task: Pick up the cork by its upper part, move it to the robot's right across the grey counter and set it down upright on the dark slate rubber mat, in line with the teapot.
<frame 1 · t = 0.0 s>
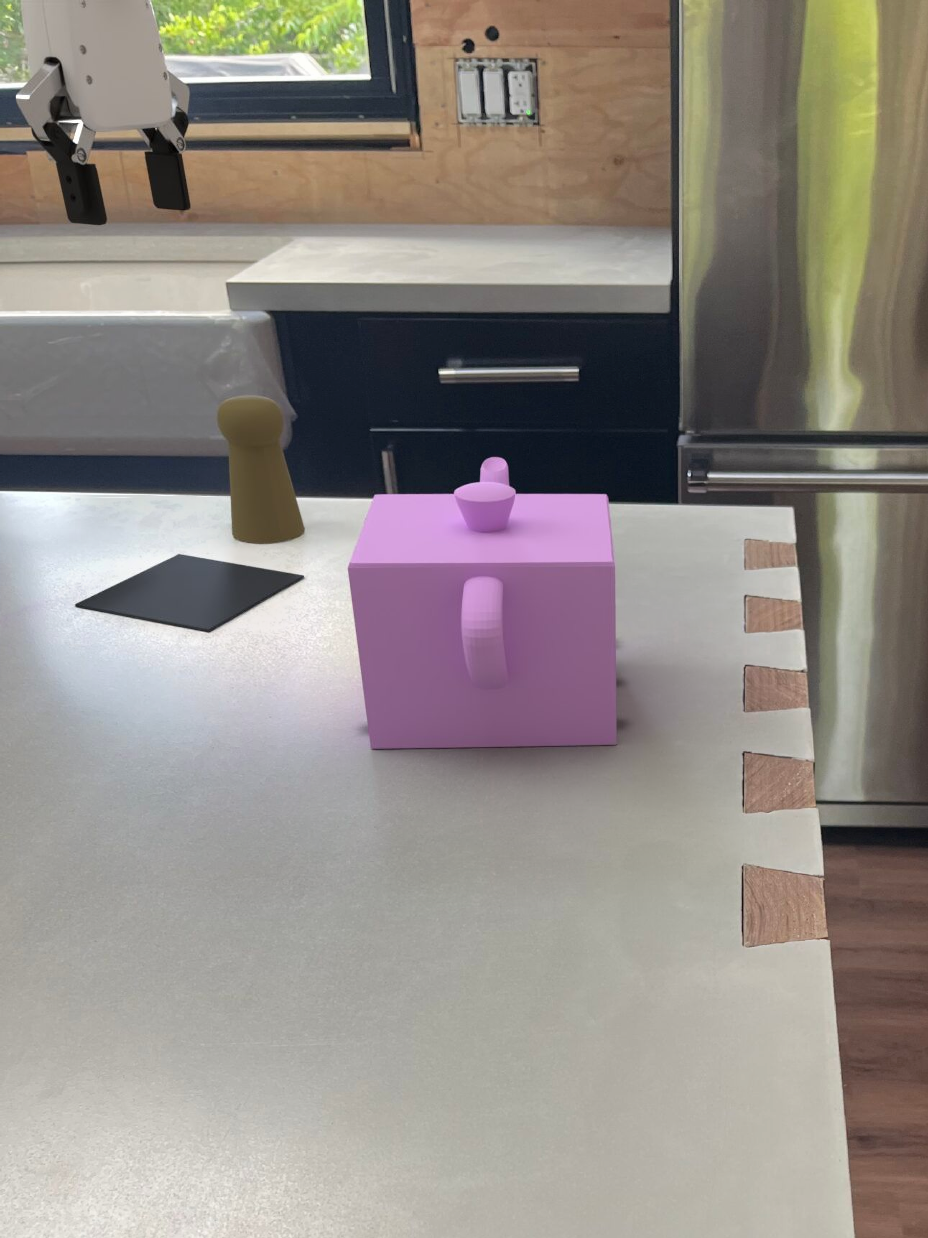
hand: (132, 216, 103), 24 cm above the kitchen island, tool pointing down, fingers open, 9 cm apart
cork: (269, 534, 113), on the kitchen island
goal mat: (193, 591, 102), on the kitchen island
teapot: (499, 697, 88), on the kitchen island
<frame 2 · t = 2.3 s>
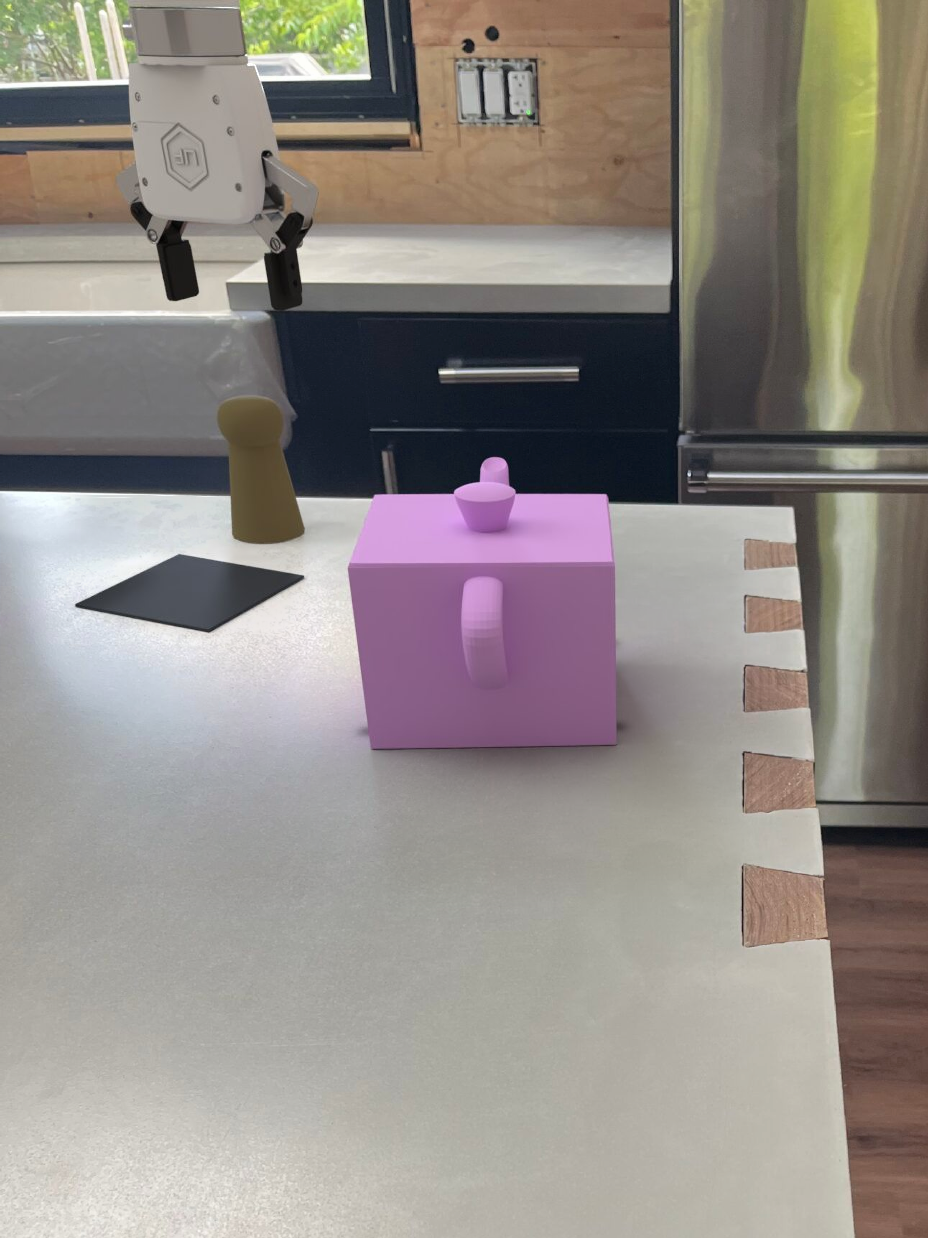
hand: (235, 303, 103), 18 cm above the kitchen island, tool pointing down, fingers open, 9 cm apart
nothing on the kitchen island moved.
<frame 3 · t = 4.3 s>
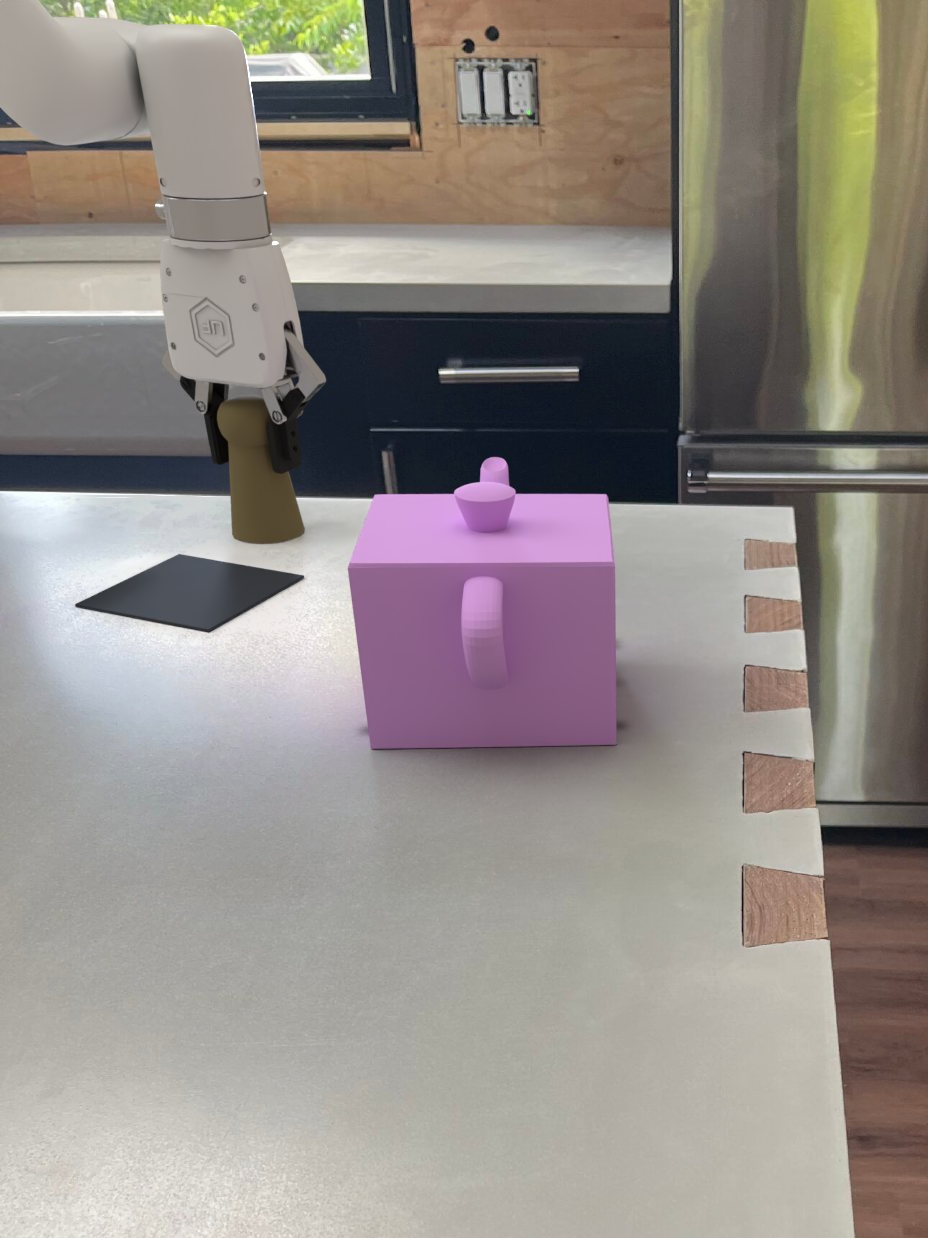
hand: (257, 462, 110), 6 cm above the kitchen island, tool pointing down, fingers closed on cork, 5 cm apart
cork: (269, 534, 113), on the kitchen island, touching gripper
everything else where it was.
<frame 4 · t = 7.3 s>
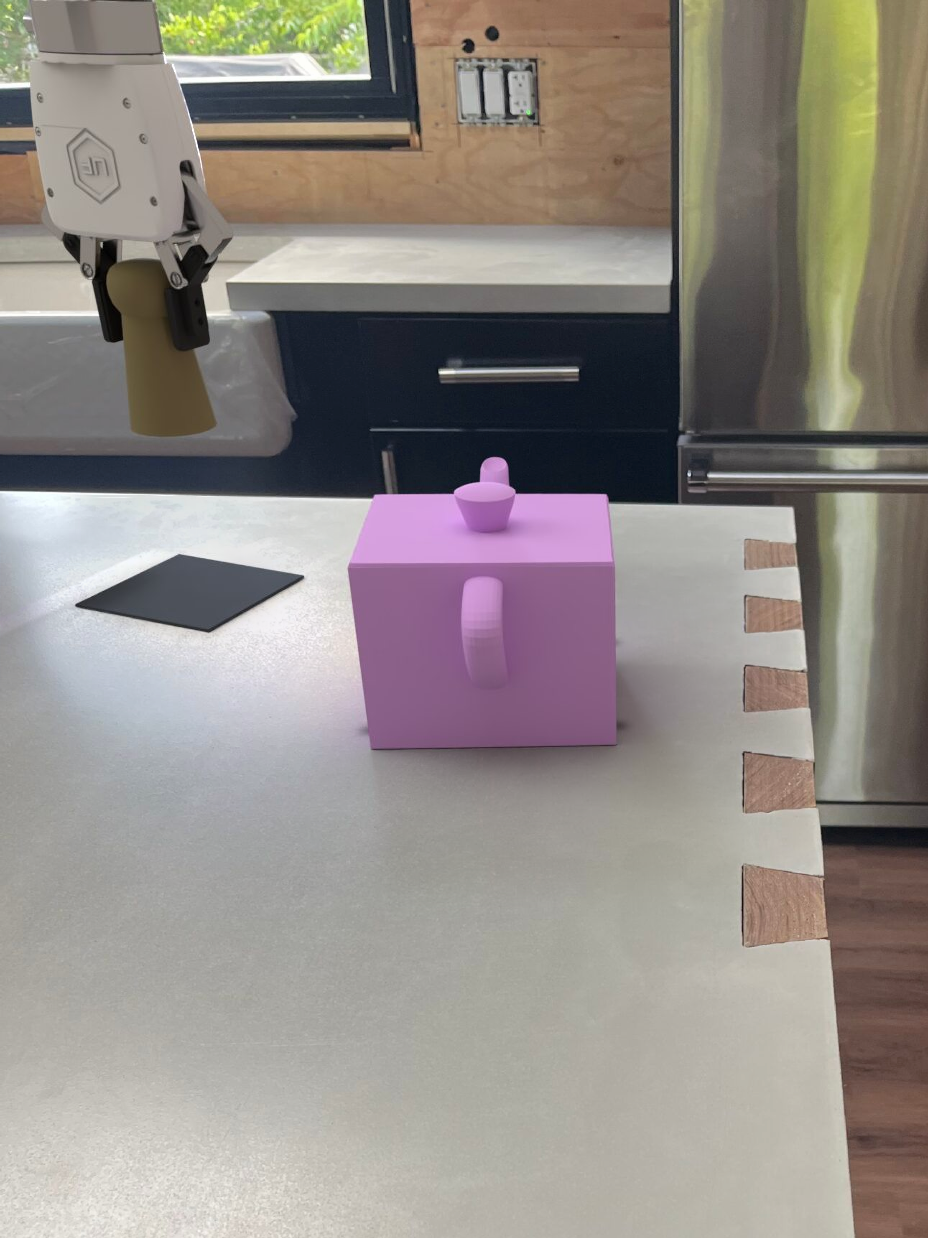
hand: (157, 340, 93), 18 cm above the kitchen island, tool pointing down, fingers closed on cork, 5 cm apart
cork: (174, 428, 97), point 12 cm above the kitchen island, touching gripper
everything else where it was.
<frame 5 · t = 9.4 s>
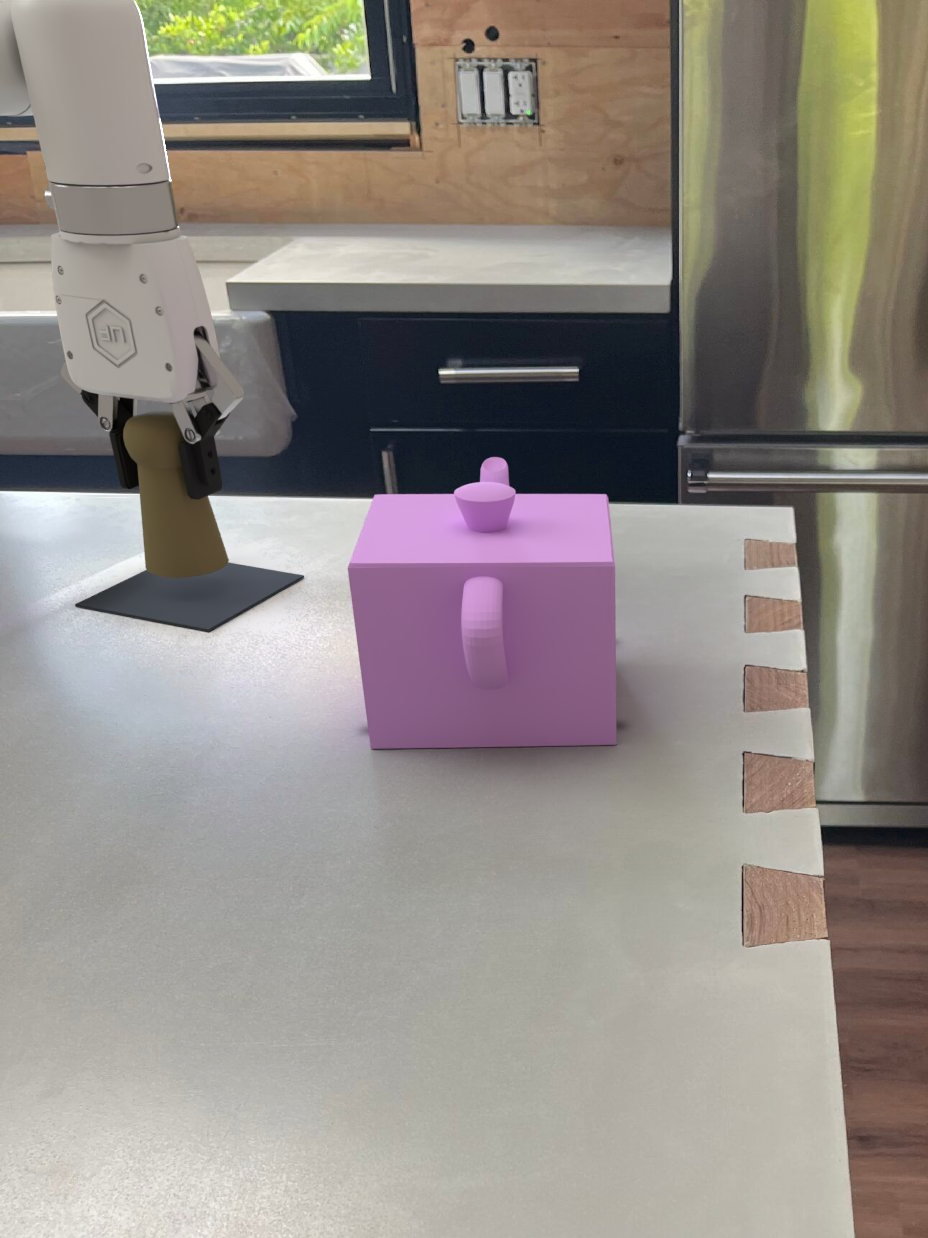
hand: (171, 486, 97), 8 cm above the kitchen island, tool pointing down, fingers closed on cork, 5 cm apart
cork: (188, 566, 100), point 2 cm above the kitchen island, touching gripper
everything else where it was.
when the fingers open (6 cm above the kitchen island, at t = 10.5 s): cork stays where it is, resting on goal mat.
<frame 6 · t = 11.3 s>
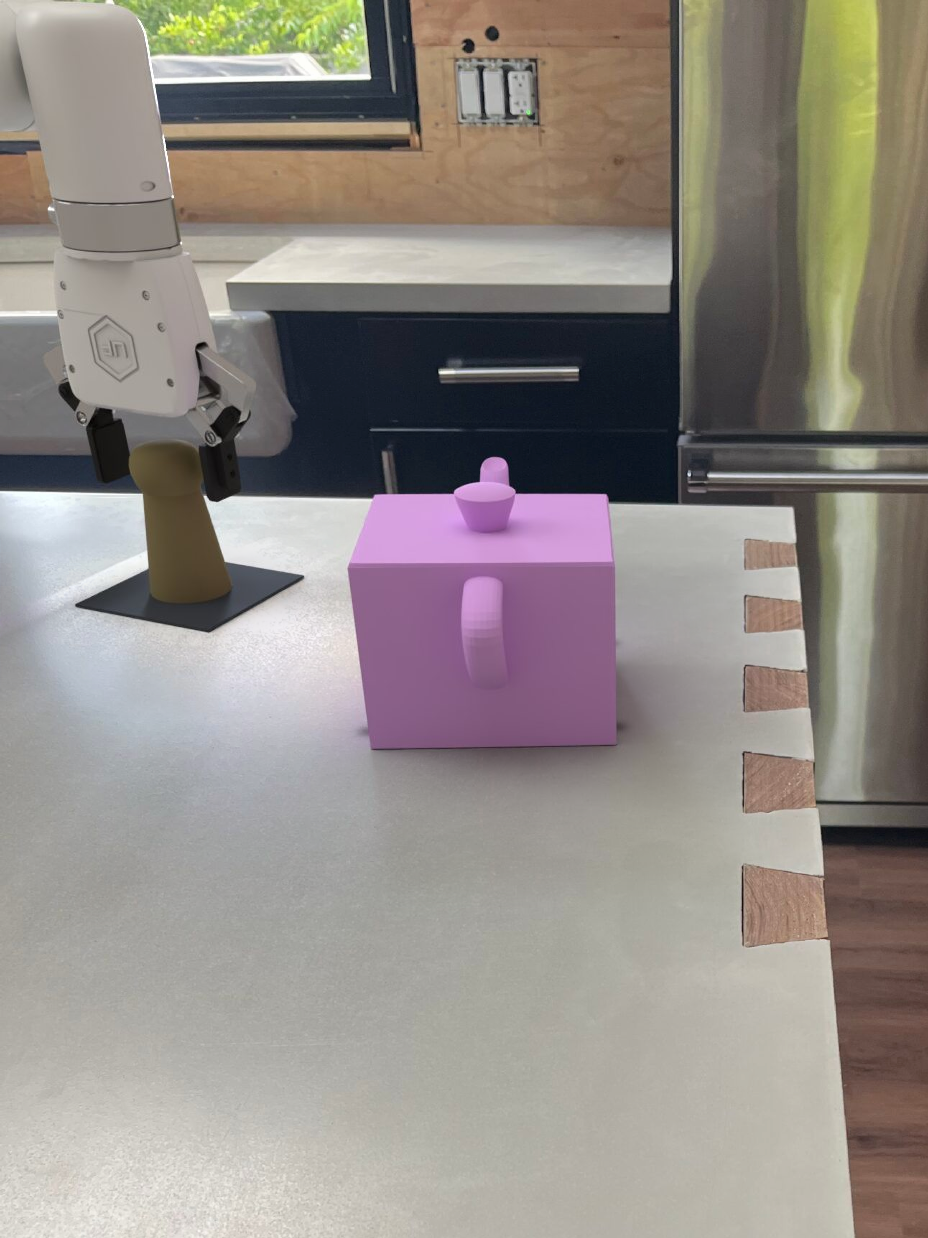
hand: (169, 487, 97), 8 cm above the kitchen island, tool pointing down, fingers open, 9 cm apart
cork: (192, 591, 102), resting on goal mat
everything else where it was.
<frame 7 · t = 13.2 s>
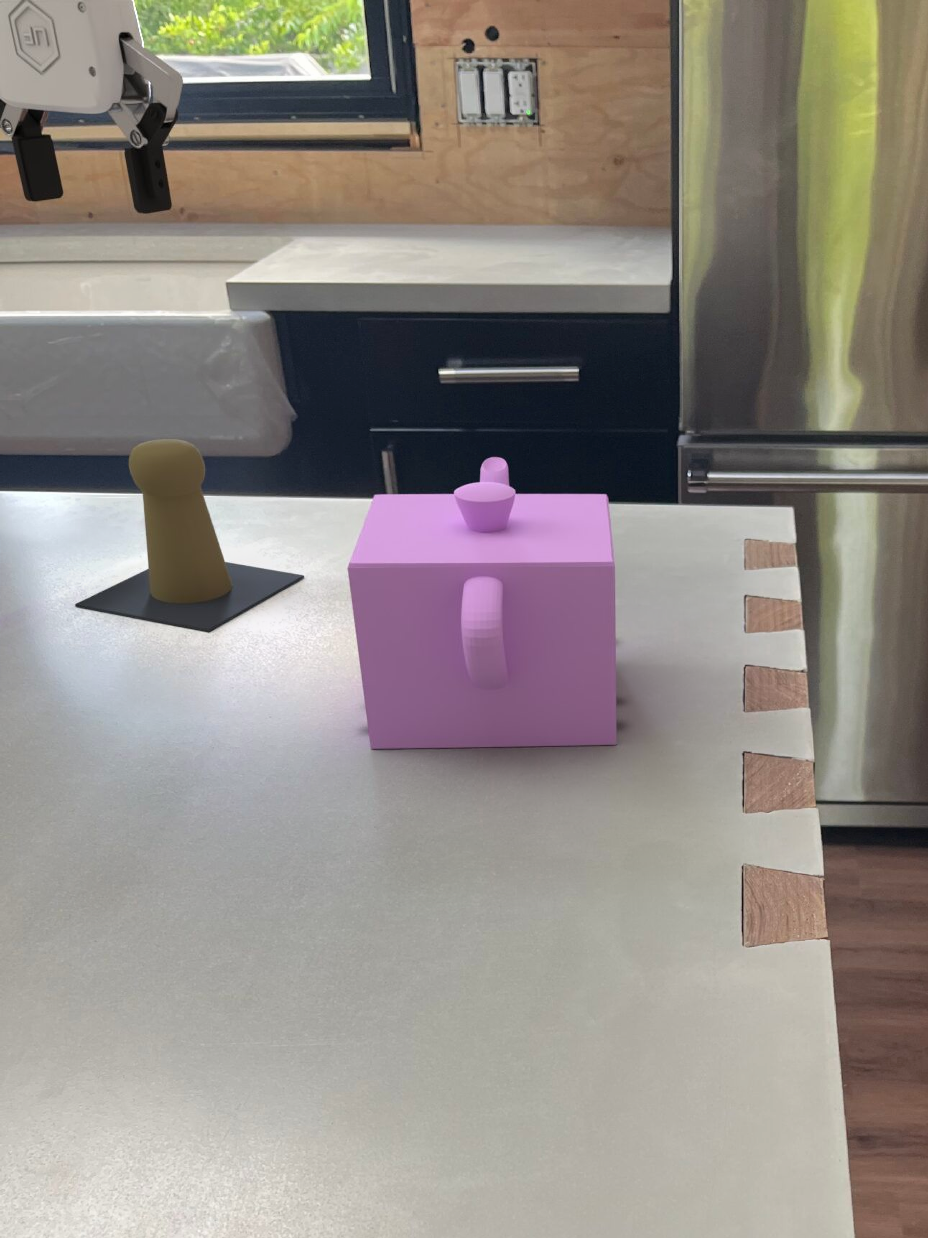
hand: (98, 205, 94), 25 cm above the kitchen island, tool pointing down, fingers open, 9 cm apart
nothing on the kitchen island moved.
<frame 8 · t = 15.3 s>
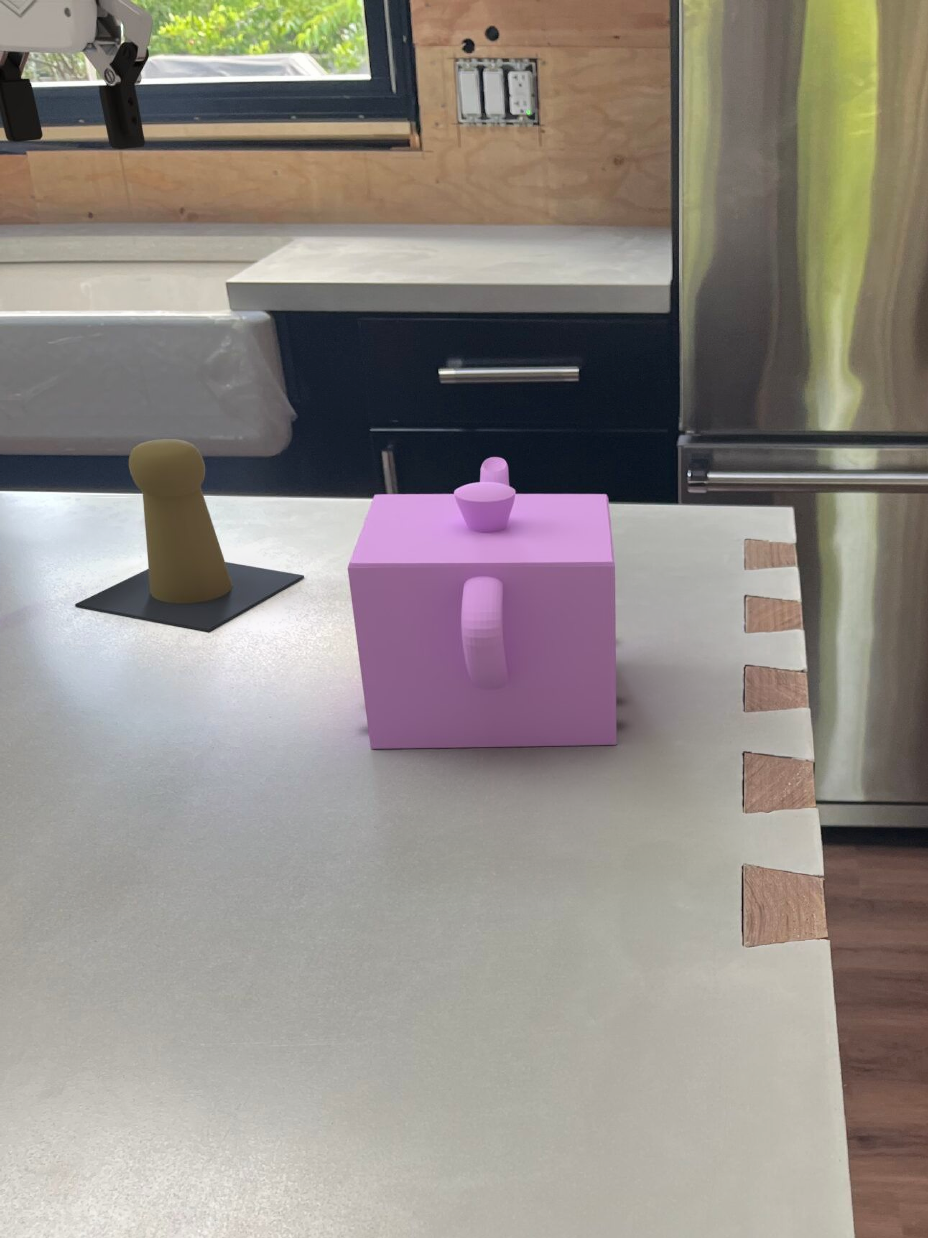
hand: (76, 144, 100), 28 cm above the kitchen island, tool pointing down, fingers open, 9 cm apart
nothing on the kitchen island moved.
at the end: cork inside the target area on the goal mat (0.1 cm from its centre), point 0.0 cm above the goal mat's base; cork tilted 0° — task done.
